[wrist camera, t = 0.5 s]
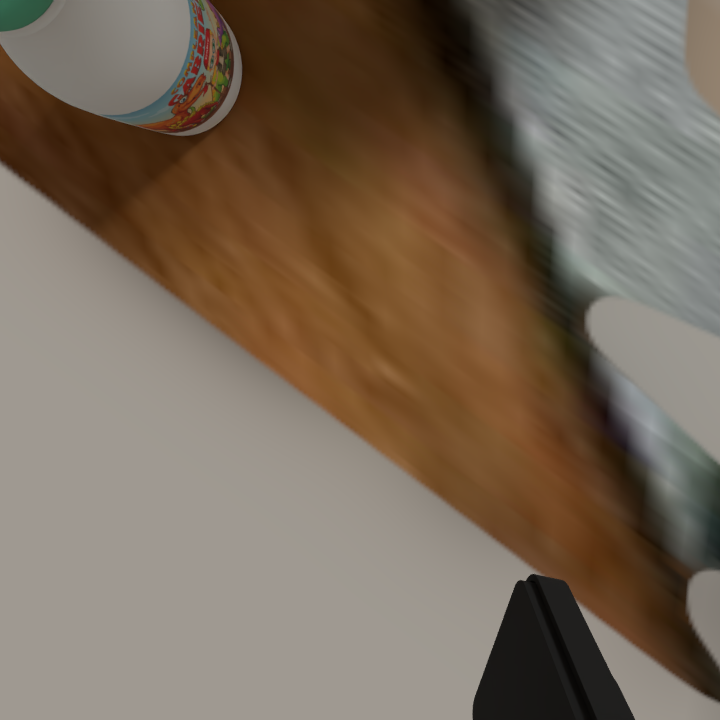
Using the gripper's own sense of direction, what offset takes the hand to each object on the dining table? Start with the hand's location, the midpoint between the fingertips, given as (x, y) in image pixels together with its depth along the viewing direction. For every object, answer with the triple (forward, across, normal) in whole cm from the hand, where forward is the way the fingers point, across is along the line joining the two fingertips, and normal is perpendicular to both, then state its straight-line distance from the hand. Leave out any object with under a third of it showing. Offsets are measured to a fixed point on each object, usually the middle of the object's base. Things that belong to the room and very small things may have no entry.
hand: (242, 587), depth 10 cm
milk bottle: (+30, +12, -11) cm, 34 cm away
